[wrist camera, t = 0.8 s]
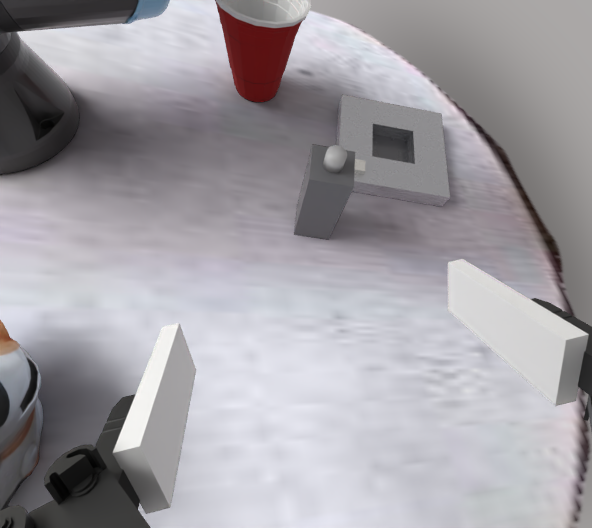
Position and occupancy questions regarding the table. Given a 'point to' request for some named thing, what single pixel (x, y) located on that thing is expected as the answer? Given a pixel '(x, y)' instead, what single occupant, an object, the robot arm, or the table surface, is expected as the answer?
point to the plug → (324, 190)
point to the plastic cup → (260, 42)
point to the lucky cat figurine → (17, 416)
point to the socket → (394, 150)
